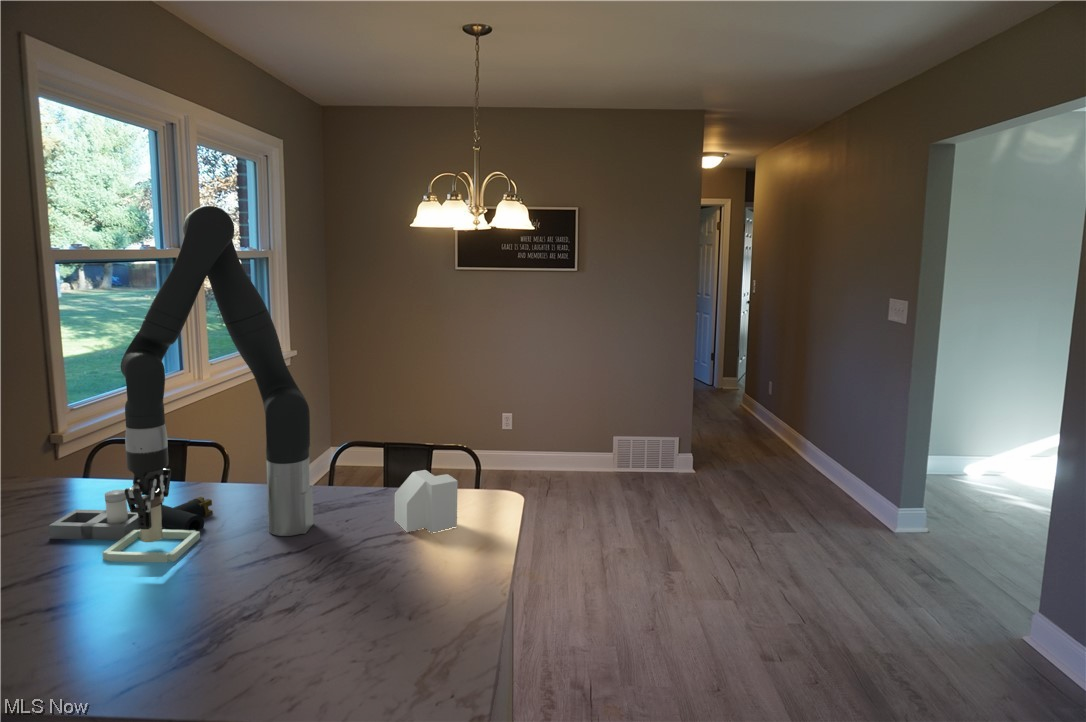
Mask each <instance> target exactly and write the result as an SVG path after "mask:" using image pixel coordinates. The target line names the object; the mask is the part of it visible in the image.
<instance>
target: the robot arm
mask: <svg viewBox="0 0 1086 722" xmlns="http://www.w3.org/2000/svg"><path fill="white" fill-rule="evenodd" d="M183 221H184V222H183V224H182V231H183V235H184V237H183V240H182V243H181V248H180V251H179V252H178V256H177V257H176V260H175V262H174V264H173V267H172V269H171V270H170V272H169V274H168V275H167V277H166V278H165V280H164V282H163V283H162V285H161V287H160V288H159V289H158V291H157V293H156V295H155V297H154V299H153V300H152V302H151V304H150V306H149V308H148V310H147V312H146V315H145V317H144V319H143V321H142V324H141V326H140V328H139V331H138V332H137V333H136V334H135V336H134V337H133V339H132V340H131V342H130V344H129V345H128V347H127V348H126V350H125V352H124V354H123V356H122V358H121V362H120V371H121V373H122V375H123V377H124V378H125V385H126V388H125V389H126V398H127V399H126V401H125V405H124V415H125V434H124V438H125V439H124V442H125V443H124V445H125V455H126V469H127V470H128V472H131V473H132V474H133V479H132V486H131V487H128V488H127V487H126V488H125V489H124V490H125V496H126V499H127V506H128V508H129V511H130V512H131V513H138V520H139V528H140V529H150V528H151V511H150V509H151V501H152V500H154V494H156V495H160V496H161V516H162V519H163V508H162V505H163V503H164V502H165V498H167V497H169V495H170V494H169V492H170V486H171V485H170V484H171V477H172V469H171V468H167V467H168V466H169V451H168V450H169V449H168V433H167V432H168V431H167V428H166V419H165V418H166V416H165V414H166V413H165V406H164V404H165V403H164V397H165V389H166V388H165V384H166V371H165V365H164V363H163V360H164V357H165V356H166V353H167V352H168V350H169V347H170V346H172V345H173V344H175V343H176V341H177V340H178V338H179V336H180V335H181V333H182V330H183V328H184V326H185V324H186V322H187V319H188V317H189V315H190V313H191V311H192V309H193V306H194V304H195V301H196V300H197V298H198V295H199V292H200V290H201V287H202V286H203V283H204V282H205V280H206V278H207V279H208V281H209V283H210V287H211V290H212V293H213V296H214V299H215V302H216V304H217V308H218V310H219V312H220V315H221V317H222V320H223V323H224V325H225V328H226V329H227V332H228V335H229V336H230V338H231V340H232V342H233V345H234V346H235V348H236V350H237V351H238V353H239V355H240V356H241V358H242V359H243V361H244V363H245V364H246V365H247V367H248V369H249V370H250V371H251V373H252V375H253V377H254V380H255V382H256V385H257V388H258V390H259V394H260V397H261V400H262V404H263V408H264V409H263V410H264V413H265V415H264V416H265V417H264V418H265V436H266V437H265V438H266V439H265V441H266V446H265V451H266V452H265V455H266V457H265V458H266V460H265V461H266V485H267V488H266V489H267V490H266V491H267V513H268V514H267V515H268V517H267V518H268V520H267V523H268V532H269V533H270V534H271V535H274V536H278V537H291V536H292V537H293V536H296V535H304V534H307V532H309V530H310V529H311V528H312V526H313V525H314V522H315V521H314V489H313V487H314V486H313V485H311V483H310V480H311V479H310V445H311V427H310V426H311V425H310V424H311V423H310V422H311V419H310V418H311V416H310V408H309V407H310V406H309V404H308V401H307V399H306V397H305V396H304V394H303V393H302V391H301V390H300V388H299V387H298V384H297V383H296V381H295V380H294V378H293V375H292V374H291V372H290V370H289V368H288V366H287V364H286V361H285V359H284V355H283V351H282V346H281V343H280V339H279V336H278V333H277V330H276V327H275V324H274V322H273V319H272V317H271V315H270V313H269V309H268V308H267V306H266V305H267V304H266V303H265V302H264V299H263V298H262V296H261V294H260V293H259V291H258V290H257V288H256V286H255V284H253V282H252V280H251V279H250V277H249V276H248V274H247V273H246V271H245V270H244V268H243V266H242V264H241V261H240V258H239V256H238V253H237V250H236V248H235V247H236V246H235V243H234V242H233V239H234V236H235V224H234V220H233V219H232V217H231V216H230V215H229V213H228V212H226V210H224V209H222V208H220V207H217V206H214V205H203V206H200V207H197V208H195V209H192V211H191V212H189V213H188V214H187V215H186V216H185V219H184V220H183ZM145 495H149V496H148V497H142V496H145ZM143 501H145V502H146V505H144V502H143Z"/></svg>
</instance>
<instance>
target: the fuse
mask: <svg viewBox="0 0 1086 722" xmlns="http://www.w3.org/2000/svg"><path fill="white" fill-rule="evenodd" d="M104 501H105V510H106V515H107V523H111V524H123V523H125V522H126V521H128V511H129V510H128V502H127V499H126V496H125V489H113V490H109V491H107V492H105V493H104Z"/></svg>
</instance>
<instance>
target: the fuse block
mask: <svg viewBox="0 0 1086 722" xmlns="http://www.w3.org/2000/svg"><path fill="white" fill-rule="evenodd" d="M127 511H128V521H126V522H125V523H123V524H111V523H107V515H106V509H83V508H82V509H78V508H76V509H74V510H72V511H71V512H68V513H67V514H65V515H64V516H62V517H60V518H58V519H57V520H56V521H54V522H52V523H51V524H48V530H49V531H48V532H49V539H50V540H51V539H52V540H53V539H54V540H56V539H57V540H93V541H95V540H96V541H97V540H98V541H119V540H120V539H122V538H123V537H125V536H126V535H127V534H129V533H130V532H131V531H133V530H140V528H139V520H138V513H131V512H130V510H127Z"/></svg>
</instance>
